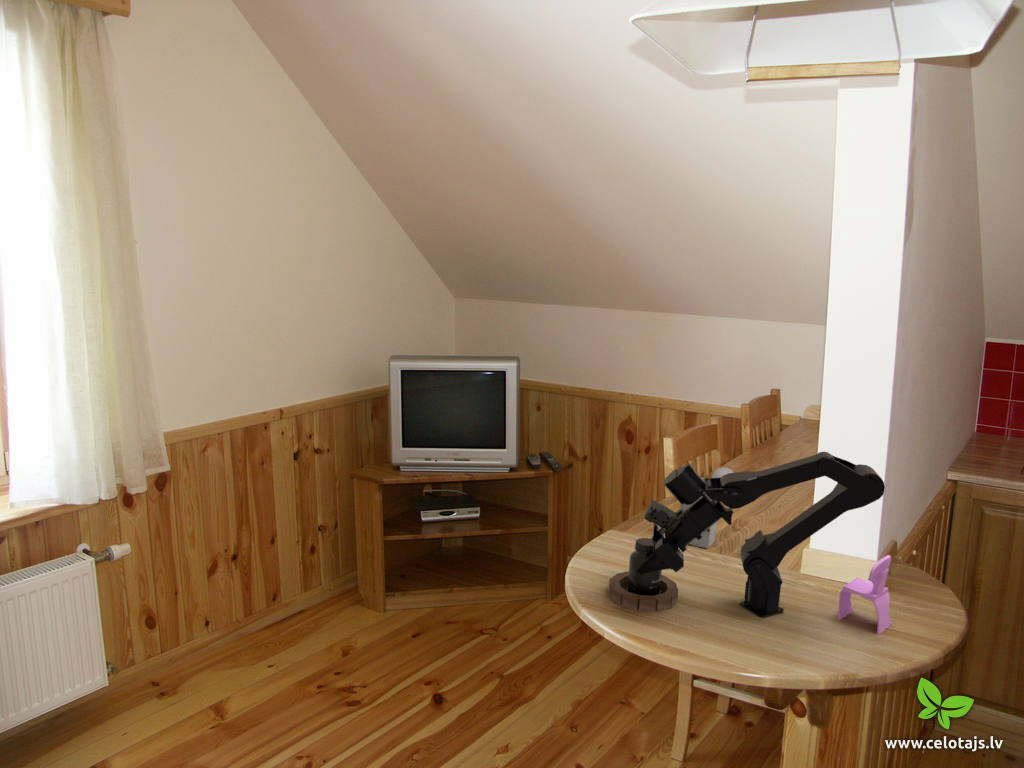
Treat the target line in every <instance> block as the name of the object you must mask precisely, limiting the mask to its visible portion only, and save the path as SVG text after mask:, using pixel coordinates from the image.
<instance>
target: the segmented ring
mask: <svg viewBox="0 0 1024 768" xmlns="http://www.w3.org/2000/svg"><path fill="white" fill-rule="evenodd" d="M628 575H629V570H628V571H623V572H618V573H616V574H614V575H613V576H612V577H611V578H609V585H608V586H609V587H608V594H609V598H610V600H612V602H615V603H616V605H618V606H621V607H622V608H627V609H630V610H633V611H635V612H636V611H638V612H648V613H649V612H652V613H654V612H655V613H656V612H658V613H659V612H662V611H665V610H670V609H671V608H673V607H674V606H675V605H676V604H677V603H678V596H679V588H678V586H677V585H678V584H677V583H676V582H675V581H674V580H672V579H670V578H669V577H667V576H665V575H663V574H661V587H660V594H659V595H655V596H645V595H637V594H634V593H630V592H628V590H626V589H625V588H628ZM661 592H662V593H661Z"/></svg>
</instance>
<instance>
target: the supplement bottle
mask: <svg viewBox="0 0 1024 768" xmlns="http://www.w3.org/2000/svg"><path fill="white" fill-rule="evenodd" d="M657 542H658V541H656V540H654V539H651V538H649V537H639V538H637V539H636V540H635V543H634V544H635V545H634V551H632V552H631V554H630V555H629V562H628V563H629V564H628V571H629V575H628V587H627V592H630V593H634V594H637V595H645V596H655V595H659V594H661V591H660V587H661V575H663V574H662V573H663V572H662V571H663V570H659V571H654V572H649V573H644V574H639V573H638V572H637V569H638V568H639V567H640V566H641V564H642V563H643V562H644V561H645V560H646V559H647V558H648V557H649V556H650V555H651V554H652V552H653V544H654V543H655V544H656V543H657Z"/></svg>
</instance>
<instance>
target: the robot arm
mask: <svg viewBox="0 0 1024 768" xmlns="http://www.w3.org/2000/svg"><path fill="white" fill-rule="evenodd" d="M822 477H827V478H829V479H831V480H832V481H834V482H836V483H837V484H836V485H835V486H834V487H833V489H832V490H831V492H829V493H828V494H827V495H825V496H824V497H822V498H821V499H820V500H818V501H817V502H815V503H814V504H812V505H811V506H810V507H809V508H807V509H805V510H804V511H803V512H801V513H800V514H799V515H797V516H796V517H794V518H793V519H791V520H790V521H788V522H787V523H786V524H784V525H782V527H780V528H779V529H777V530H776V531H774V532H772V533H767V534H764V533H763V531H762V530H760V529H759V530H758V531H756V532H755V534H754V535H753V536H751V537H749V538H746V539H744V544H743V545H742V546H741V547H740V548H741V549H740V553H739V555H740V556H739V557H740V559H741V565H742V568H743V571H744V573H745V575H747V578H746V579H747V580H746V581H745V589H744V601H743V600H742V601H740V602H739V606H741V607H742V608H744V609H746V610H747V611H749V612H751V613H752V614H754V615H756V616H757V617H759V618H766V617H769V616H772V615H776V614H780V613H784V611H785V609H784V607H781V606H780V598H781V597H780V596H781V589H782V584H783V579H782V576H781V574H780V570H779V566H780V564H781V562H783V560H784V558H785V556H786V555H787V554H788V553H789V552H790V551H792V550H793V549H795V548H796V547H797V546H799V545H800V544H801V543H802V542H804V541H806V540H807V539H809V538H810V537H811V536H813V535H815V534H816V533H817V532H819V531H820V530H821V529H823V528H825V527H826V526H827V525H829V524H830V523H832V522H833V521H835V520H836V519H838V518H839V517H841V515H843V514H844V513H846V512H848V511H854V510H856V509H860V508H863V507H865V506H868V505H870V504H872V503H875V502H876V501H878V500H880V499H881V497H883V496H884V494H885V488H886V486H885V481H883V479H882V477H881V476H880V475H879V474H878V472H877V471H876V470H875V469H874V468H873V467H872V466H869V465H867V464H855V463H853V462H851V461H848V460H847V459H844V458H841V457H838V456H836V455H833V454H831V453H830V452H828V451H819V452H817V453H815V454H814V455H810V456H807V457H804V458H800V459H797V460H794V461H790V462H787V463H782V464H780V465H776V466H773V467H769V468H767V469H763V470H758V471H745V470H744V471H737V472H736V471H735V472H734V473H728V474H725V475H723V476H722V477H719V478H711V477H705V478H704V479H702V477H701V475H699V473H698V472H697V471H696V470H695V468H694V467H693V465H692V464H691V463H690V462H687V463H686V464H685V465H683V466H680V467H678V468H677V469H676V468H675V469H674V470H672V471H671V472H670V473H669V474H668V475H667V476H666V477H665V478H664V480H663V482H662V485H663V486H664V487H665V488H666V489H667V490H668V491H669V493H670V494H671V495H673V497H674V498H675V499H676V500H677V501H678V502H679V503H680V505H681V504H686V505H691V504H692V505H691V506H690V507H689V508H687V509H686V510H685V511H684V510H683V509H682V510H681V509H680V508H679V509H678V510H677V511H674V510H673V509H671V508H669V507H667V506H665V505H664V504H662V503H660V502H658V501H656V500H653V499H652V500H651V501H650V503H649V505H648V506H647V508H646V510H645V511H644V520H646V521H647V522H649V523H652V524H653V531H652V532H653V533H652V536H651V538H650V539H654V540H656V541H658V542H657V543H656V544H655V543H654V544H653V552H652V554H651V555H650V556H649V557H648V558H647V559H646V560H645V561H644V562H643V563H642V564H641V566H640V567H639V568H638V569H637V572H638V573H639V574H644V573H649V572H654V571H659V570H662V571H663V570H671V571H672V570H673V572H674V573H678V572H679V571H680V570H681V569H683V568H684V564H685V563H684V562H685V559H684V558H685V557H684V552H686V550H688V549H687V546H688V545H689V543H691V542H692V541H693V540H694V539H696V538H697V539H698V540H699V539H701V538H702V533H703V532H705V531H706V530H707V529H708V528H710V527H711V526H712V525H713V524H715V523H716V522H717V523H718V522H719V521H720V520H721V519H723V520H724V522H725V523H727V525H729V526H731V525H732V524H733V523H732V519H733V518H732V517H733V514H734V510H735V509H740V508H743V507H745V506H747V505H749V504H751V503H753V502H755V501H757V500H758V499H759V498H761V497H762V496H764V495H765V494H767V493H770V492H773V491H777V490H781V489H783V488H784V489H785V488H788V487H791V486H795V485H799V484H801V483H802V484H803V483H805V482H809V481H812V480H816V479H819V478H822ZM701 496H702V497H701ZM700 497H701V498H700ZM699 498H700V499H699ZM698 499H699V500H698ZM695 501H696V502H695ZM694 502H695V503H694ZM693 503H694V504H693Z"/></svg>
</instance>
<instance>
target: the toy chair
mask: <svg viewBox="0 0 1024 768" xmlns="http://www.w3.org/2000/svg"><path fill="white" fill-rule="evenodd" d="M891 562H892V556H891V555H890V554H888V555H886V556H884V557H882V558H881V559H879V560H878V561H877V562H876V563H875V564H873V566H871V567H872V568H871V570H870V572H869V576H868V579H867V580H868V581H867V580H865V579H863V578H860V577H856V578H854V579H853V580H852V581H849V582H848V583H845V584H843V586H842V590H840V592H839V597H838V598H839V600H838V614H837V620H838V621H841V620H842V619H844V618H845V617H847V616H848V615H849V613H850V612H851V613H853V612H854V609H853V605H852V599H851V597H852V595H857V596H859V597H862V598H863V599H866V600H869V601H870V602H872V603H873V604H874V606H875V610H876V611H875V612H876V614H877V630H876V635H877V634H878V635H877V636H880V635H881V634H883V633H884V632H885V631H886V630H885V629H886V628H887V627H889V626H890V625H891V624H892V625H893V623H892V621H891V616H890V600H891V599H890V597H891V595H890V593H889V587H886V586H885V584H886V581H887V578H888V574H889V571H890V568H889V567H890V565H891ZM852 611H853V612H852ZM851 613H850V614H851ZM847 614H848V615H847ZM846 615H847V616H846ZM844 616H845V617H844ZM843 617H844V618H843ZM840 619H841V620H840ZM889 628H890V627H889ZM884 630H885V631H884ZM883 631H884V632H883ZM882 632H883V633H882ZM880 633H881V634H880ZM879 634H880V635H879Z"/></svg>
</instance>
